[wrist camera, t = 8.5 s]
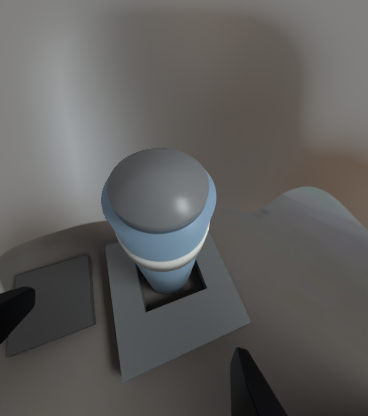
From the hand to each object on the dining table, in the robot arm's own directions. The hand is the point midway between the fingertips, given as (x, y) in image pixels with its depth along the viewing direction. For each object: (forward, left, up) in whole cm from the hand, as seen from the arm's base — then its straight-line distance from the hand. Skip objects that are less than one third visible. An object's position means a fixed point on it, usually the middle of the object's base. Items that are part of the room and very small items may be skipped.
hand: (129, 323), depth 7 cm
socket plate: (+4, +1, -12) cm, 13 cm away
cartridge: (+5, +2, -12) cm, 13 cm away
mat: (-4, +10, -12) cm, 16 cm away
